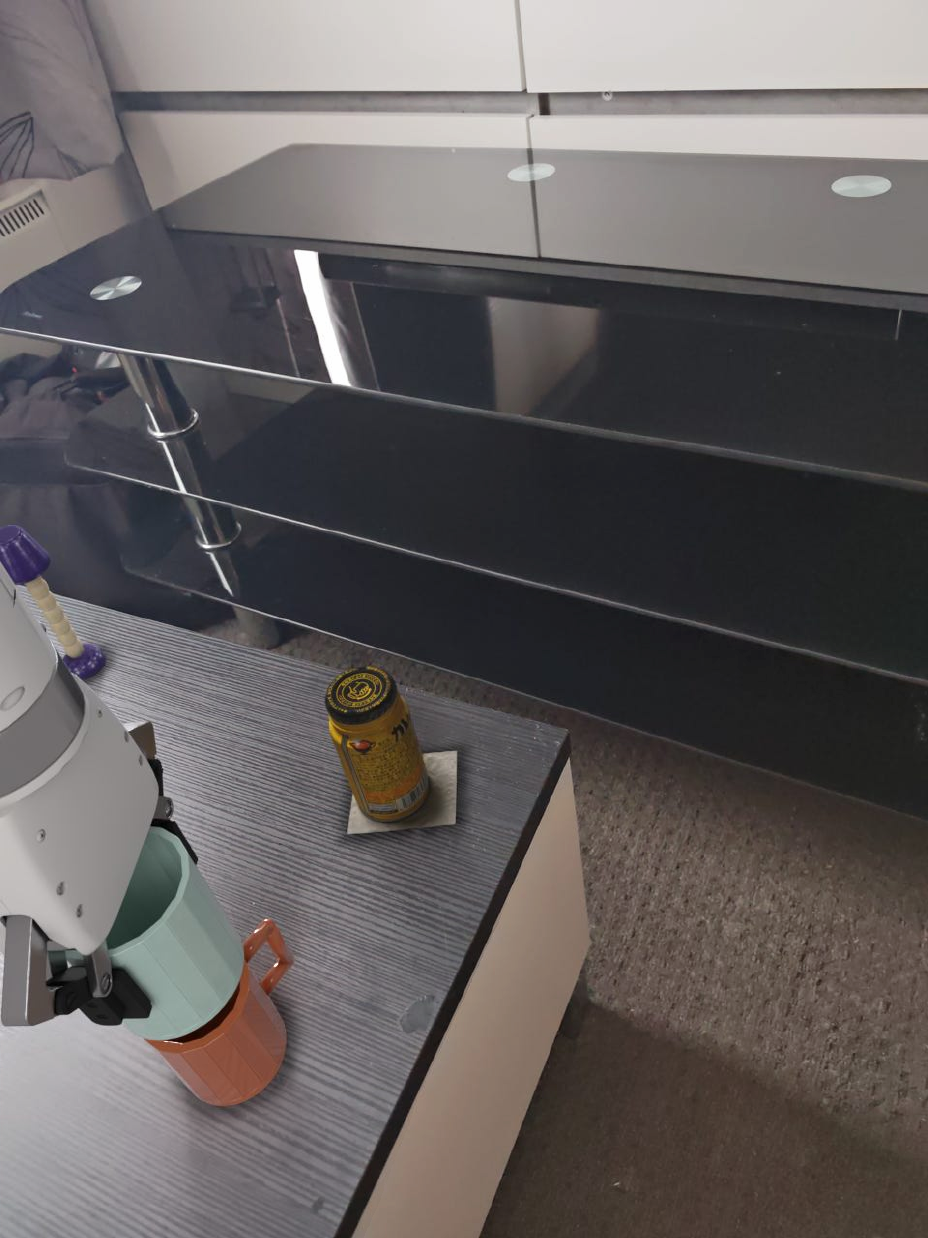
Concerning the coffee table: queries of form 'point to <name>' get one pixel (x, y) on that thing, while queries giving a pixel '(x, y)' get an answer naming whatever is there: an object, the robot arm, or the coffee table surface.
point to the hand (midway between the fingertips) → (149, 934)
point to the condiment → (387, 757)
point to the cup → (173, 941)
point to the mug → (236, 1033)
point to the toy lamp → (46, 597)
